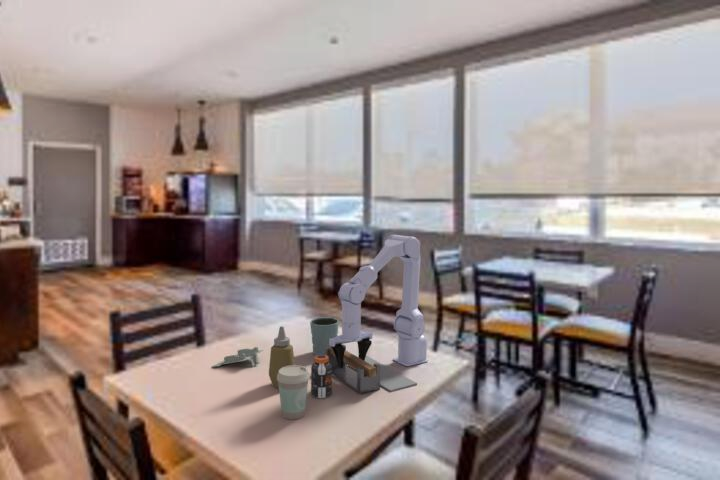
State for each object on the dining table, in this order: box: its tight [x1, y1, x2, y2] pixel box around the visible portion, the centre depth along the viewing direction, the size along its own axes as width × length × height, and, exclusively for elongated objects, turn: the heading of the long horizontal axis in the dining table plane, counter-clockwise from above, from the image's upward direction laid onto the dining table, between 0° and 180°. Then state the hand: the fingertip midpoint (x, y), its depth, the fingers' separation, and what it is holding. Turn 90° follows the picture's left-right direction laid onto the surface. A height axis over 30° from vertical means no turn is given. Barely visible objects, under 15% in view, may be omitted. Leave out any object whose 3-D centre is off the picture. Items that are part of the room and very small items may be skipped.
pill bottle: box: [310, 355, 333, 399], centre depth 138 cm, size 6×6×11 cm
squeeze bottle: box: [268, 325, 296, 389], centre depth 144 cm, size 8×8×18 cm
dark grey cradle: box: [325, 344, 381, 395], centre depth 149 cm, size 7×22×8 cm, turn 32°
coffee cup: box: [277, 364, 311, 420], centre depth 125 cm, size 8×8×12 cm
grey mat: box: [346, 355, 418, 393], centre depth 155 cm, size 10×28×1 cm, turn 32°
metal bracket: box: [211, 346, 264, 368], centre depth 163 cm, size 14×6×15 cm
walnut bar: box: [329, 346, 376, 377], centre depth 149 cm, size 2×24×2 cm, turn 32°
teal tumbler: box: [309, 316, 340, 357], centre depth 172 cm, size 10×10×12 cm
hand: (351, 364), depth 149 cm, fingers open, 7 cm apart
